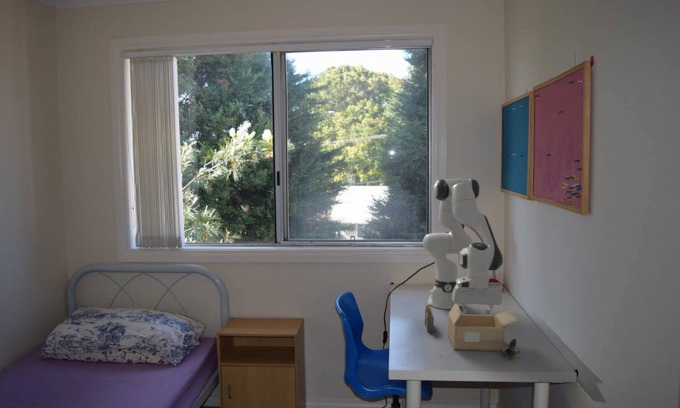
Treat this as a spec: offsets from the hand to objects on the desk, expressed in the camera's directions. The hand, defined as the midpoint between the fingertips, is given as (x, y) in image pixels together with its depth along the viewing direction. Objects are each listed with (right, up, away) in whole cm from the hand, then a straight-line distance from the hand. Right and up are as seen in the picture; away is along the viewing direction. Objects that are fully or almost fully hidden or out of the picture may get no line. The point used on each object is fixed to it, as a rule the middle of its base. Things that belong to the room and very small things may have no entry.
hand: (476, 313), depth 202 cm
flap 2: (+10, -3, 0) cm, 10 cm away
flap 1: (-10, -3, +1) cm, 11 cm away
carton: (0, -13, +1) cm, 13 cm away
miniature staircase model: (-16, -12, +19) cm, 28 cm away
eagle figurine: (+10, -15, -11) cm, 21 cm away
